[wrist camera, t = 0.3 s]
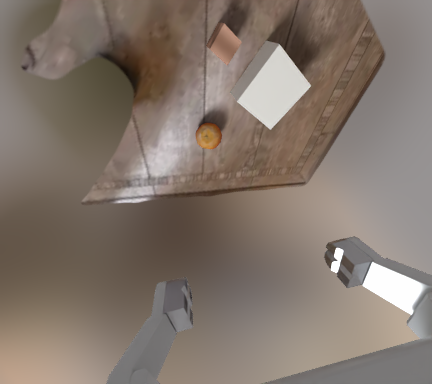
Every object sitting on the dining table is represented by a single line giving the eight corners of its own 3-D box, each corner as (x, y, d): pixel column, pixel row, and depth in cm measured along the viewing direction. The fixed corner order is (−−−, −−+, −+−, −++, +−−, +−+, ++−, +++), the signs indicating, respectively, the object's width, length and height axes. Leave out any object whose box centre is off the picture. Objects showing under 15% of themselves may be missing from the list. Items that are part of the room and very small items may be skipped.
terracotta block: (218, 22, 39) (224, 23, 35) (234, 39, 42) (241, 42, 38) (206, 45, 42) (210, 49, 37) (222, 60, 44) (227, 65, 40)
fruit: (211, 151, 61) (206, 156, 54) (196, 134, 60) (188, 136, 53) (228, 135, 58) (225, 138, 51) (213, 116, 57) (207, 116, 49)
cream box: (265, 40, 43) (279, 44, 38) (295, 78, 50) (311, 86, 45) (229, 91, 50) (237, 101, 44) (261, 118, 57) (270, 129, 52)
